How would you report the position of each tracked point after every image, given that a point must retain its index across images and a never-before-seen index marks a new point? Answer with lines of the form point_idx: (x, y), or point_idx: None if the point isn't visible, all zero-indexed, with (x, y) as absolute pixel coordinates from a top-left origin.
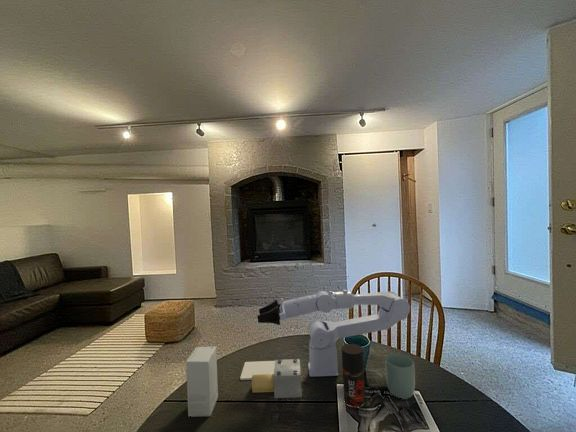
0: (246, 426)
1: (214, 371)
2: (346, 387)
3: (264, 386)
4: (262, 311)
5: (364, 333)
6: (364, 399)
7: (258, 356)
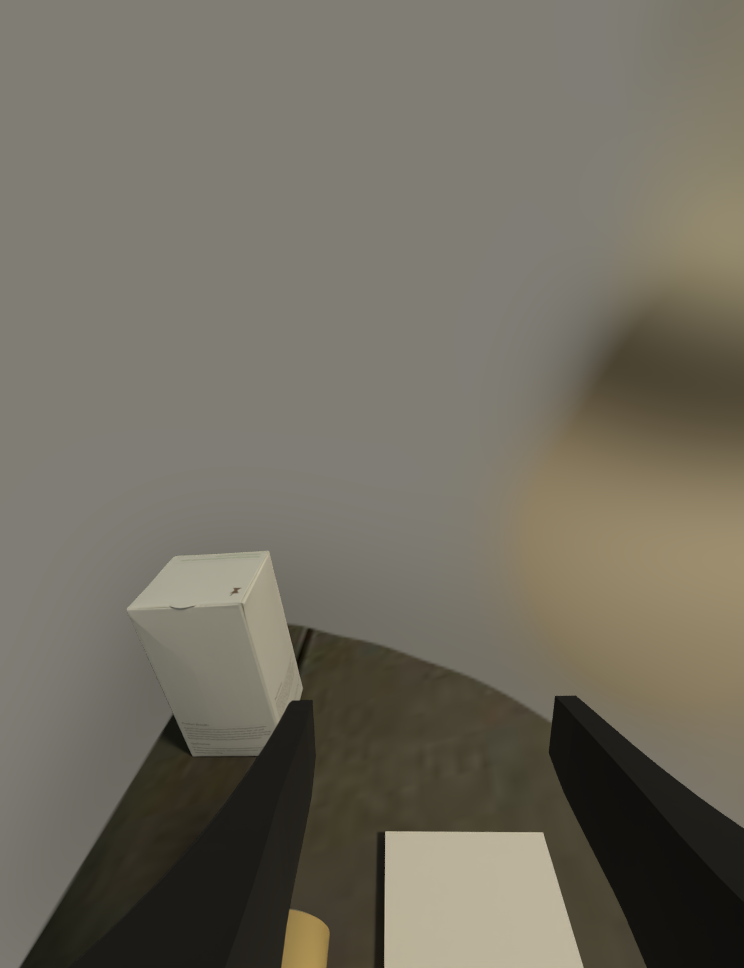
0: (34, 950)
1: (212, 670)
2: None
3: None
4: (573, 754)
5: None
6: None
7: None
